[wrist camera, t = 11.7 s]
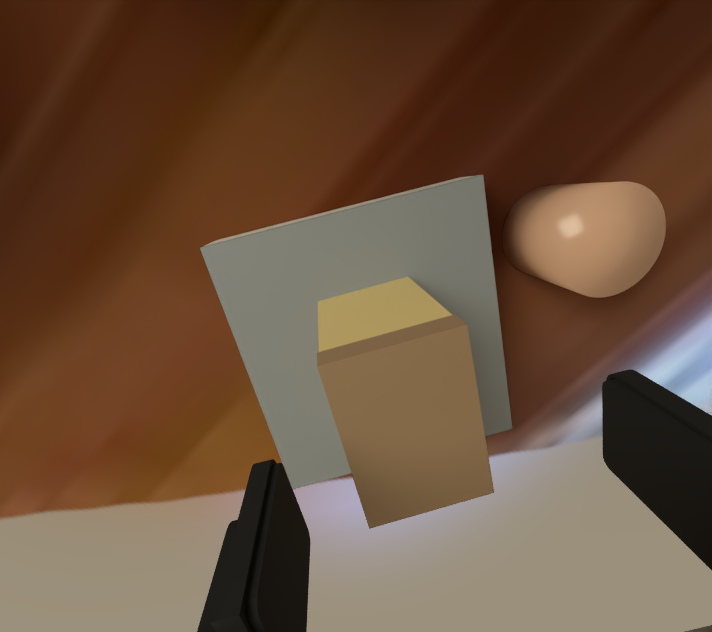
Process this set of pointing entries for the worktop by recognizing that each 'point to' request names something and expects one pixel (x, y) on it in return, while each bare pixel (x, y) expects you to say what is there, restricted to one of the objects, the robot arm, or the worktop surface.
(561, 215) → the beige egg shape
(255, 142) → the worktop surface
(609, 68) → the worktop surface
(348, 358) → the carton
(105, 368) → the worktop surface
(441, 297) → the podium
